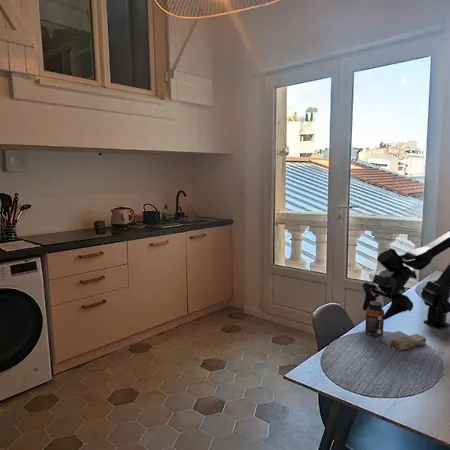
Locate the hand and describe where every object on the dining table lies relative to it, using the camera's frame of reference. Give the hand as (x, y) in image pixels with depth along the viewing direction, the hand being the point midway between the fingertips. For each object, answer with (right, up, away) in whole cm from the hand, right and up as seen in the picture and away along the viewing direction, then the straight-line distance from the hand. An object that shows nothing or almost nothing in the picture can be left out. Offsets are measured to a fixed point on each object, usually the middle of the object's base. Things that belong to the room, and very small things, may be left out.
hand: (373, 314), depth 133 cm
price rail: (+8, -8, -8) cm, 14 cm away
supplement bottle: (+1, -7, +1) cm, 7 cm away
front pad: (+6, -8, -3) cm, 10 cm away
